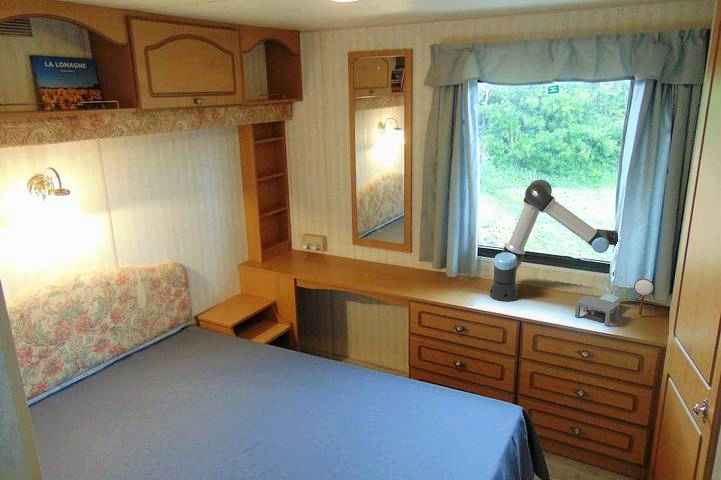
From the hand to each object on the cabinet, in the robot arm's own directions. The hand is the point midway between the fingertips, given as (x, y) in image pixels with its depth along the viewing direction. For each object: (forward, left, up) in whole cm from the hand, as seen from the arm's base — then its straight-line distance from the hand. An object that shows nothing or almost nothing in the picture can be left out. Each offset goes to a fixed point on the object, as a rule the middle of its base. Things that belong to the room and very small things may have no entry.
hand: (616, 299), depth 277 cm
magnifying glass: (+15, -9, -2) cm, 18 cm away
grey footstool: (0, -25, -2) cm, 25 cm away
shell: (0, -11, -2) cm, 11 cm away
